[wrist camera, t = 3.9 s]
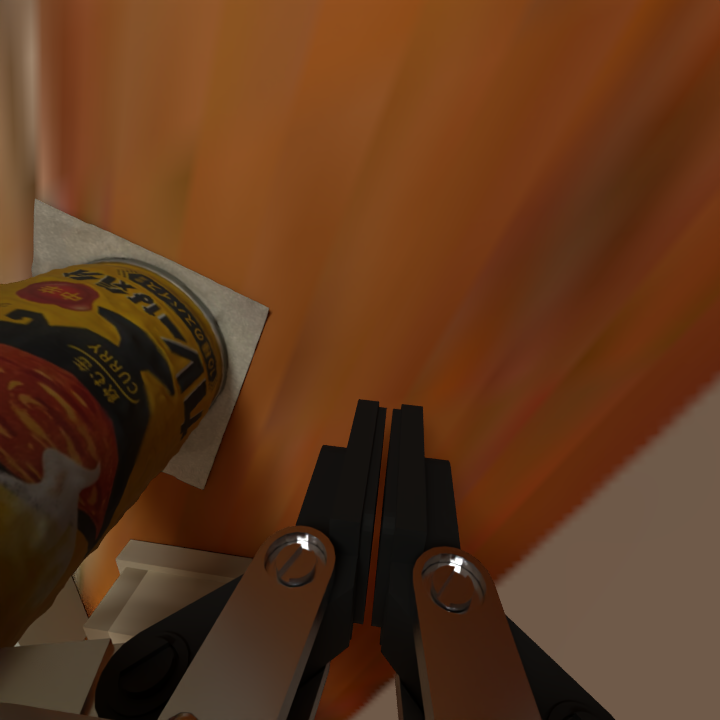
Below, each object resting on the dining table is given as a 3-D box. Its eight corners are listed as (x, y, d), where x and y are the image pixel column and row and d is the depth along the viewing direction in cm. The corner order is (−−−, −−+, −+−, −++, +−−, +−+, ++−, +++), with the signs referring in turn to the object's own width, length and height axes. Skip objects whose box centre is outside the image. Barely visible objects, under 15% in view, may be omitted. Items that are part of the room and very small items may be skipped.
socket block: (305, 566, 17) (280, 656, 14) (305, 669, 21) (285, 758, 18) (130, 539, 18) (70, 618, 15) (159, 643, 21) (115, 724, 18)
